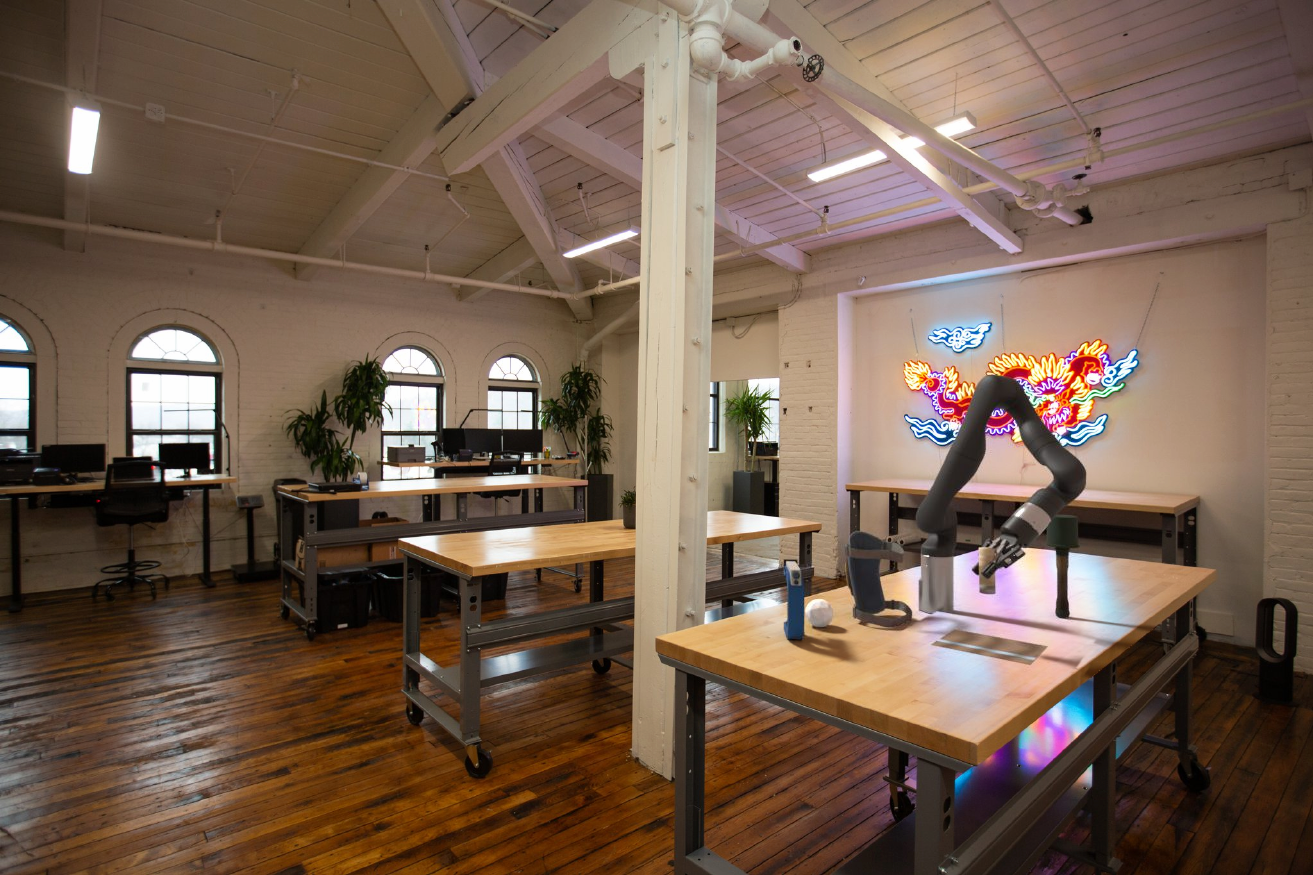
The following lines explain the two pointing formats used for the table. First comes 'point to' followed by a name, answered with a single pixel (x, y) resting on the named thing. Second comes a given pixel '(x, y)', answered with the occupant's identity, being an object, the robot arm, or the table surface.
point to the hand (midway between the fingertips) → (979, 574)
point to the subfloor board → (991, 646)
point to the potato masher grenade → (1062, 555)
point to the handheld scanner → (794, 600)
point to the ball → (819, 613)
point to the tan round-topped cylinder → (984, 559)
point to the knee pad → (871, 578)
